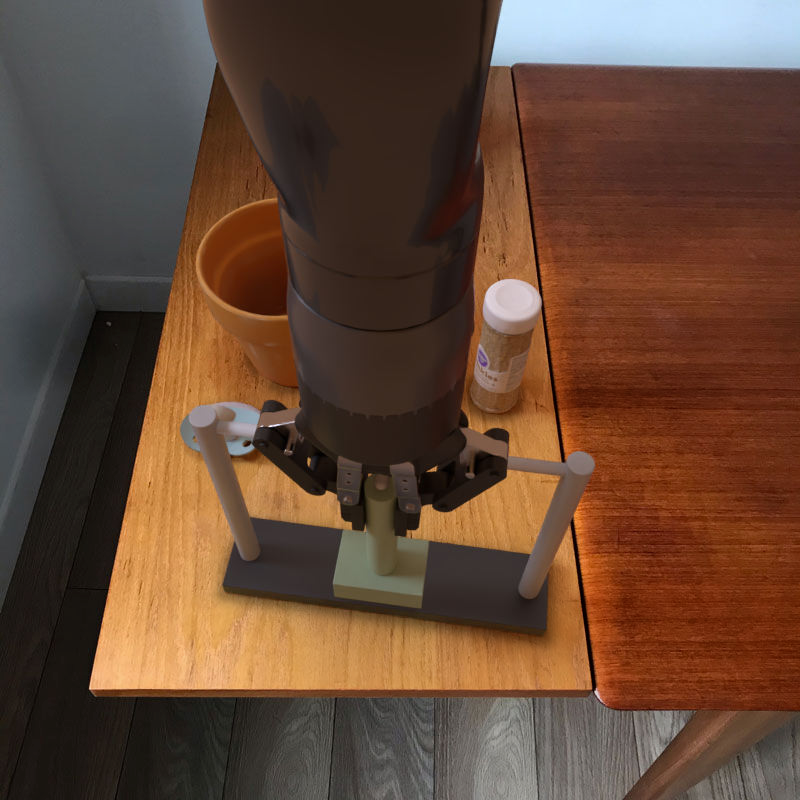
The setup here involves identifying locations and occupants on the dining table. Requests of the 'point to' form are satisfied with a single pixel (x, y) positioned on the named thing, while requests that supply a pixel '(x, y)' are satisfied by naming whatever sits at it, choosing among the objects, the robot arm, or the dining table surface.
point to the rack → (446, 563)
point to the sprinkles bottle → (504, 344)
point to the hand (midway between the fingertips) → (382, 519)
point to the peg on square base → (381, 554)
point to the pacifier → (226, 413)
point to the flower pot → (250, 286)
